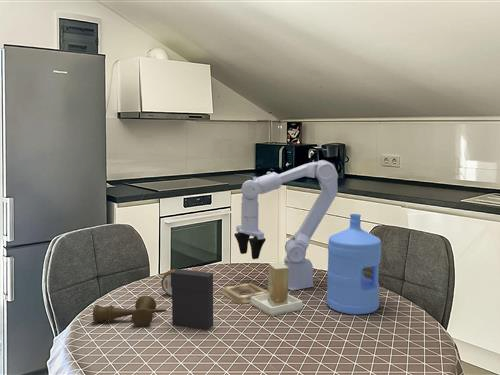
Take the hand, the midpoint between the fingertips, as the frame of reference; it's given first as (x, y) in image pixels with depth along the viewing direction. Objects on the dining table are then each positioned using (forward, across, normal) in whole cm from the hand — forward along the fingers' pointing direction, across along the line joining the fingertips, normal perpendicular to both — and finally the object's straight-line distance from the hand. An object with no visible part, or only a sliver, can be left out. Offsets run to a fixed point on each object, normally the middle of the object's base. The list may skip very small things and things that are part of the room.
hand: (249, 256), depth 169 cm
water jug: (+10, +32, +17) cm, 38 cm away
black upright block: (+11, +21, -31) cm, 39 cm away
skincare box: (+10, +21, -3) cm, 24 cm away
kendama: (+11, +9, -44) cm, 46 cm away
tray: (+10, +21, -3) cm, 24 cm away
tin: (+11, -2, -23) cm, 25 cm away
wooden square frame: (+10, +8, -6) cm, 15 cm away
